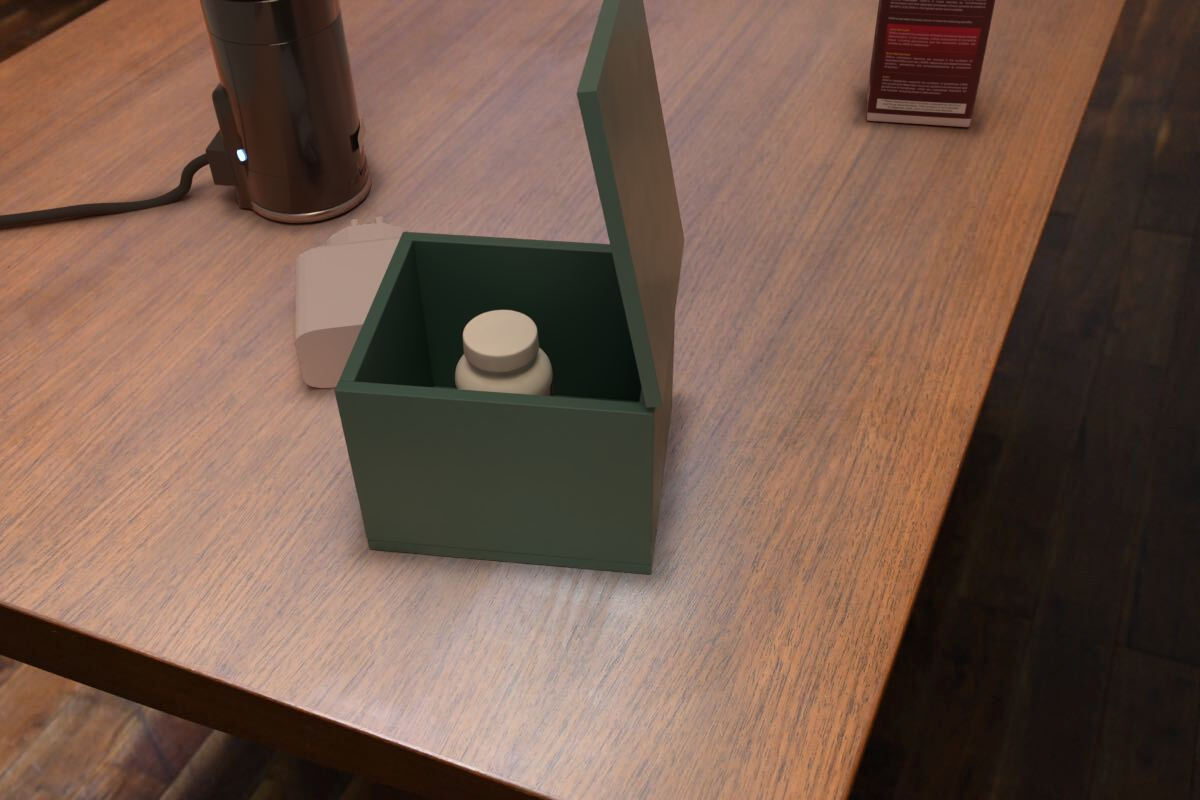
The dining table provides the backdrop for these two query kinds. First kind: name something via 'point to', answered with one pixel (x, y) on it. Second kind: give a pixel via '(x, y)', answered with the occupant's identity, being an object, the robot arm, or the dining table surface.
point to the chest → (504, 411)
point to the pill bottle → (503, 356)
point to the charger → (338, 296)
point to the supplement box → (927, 60)
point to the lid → (634, 182)
